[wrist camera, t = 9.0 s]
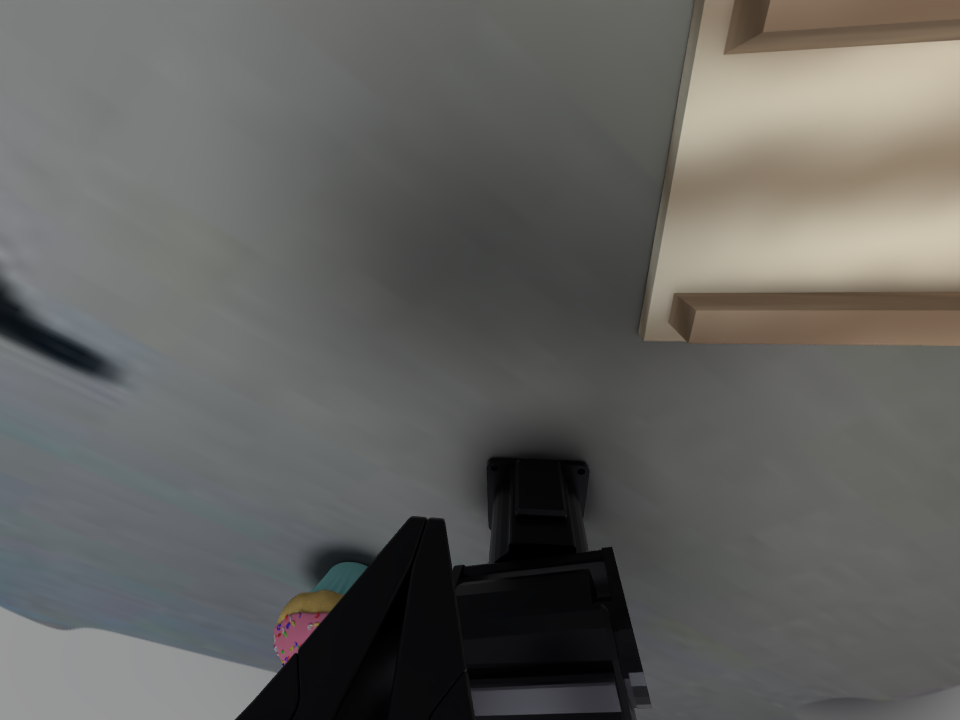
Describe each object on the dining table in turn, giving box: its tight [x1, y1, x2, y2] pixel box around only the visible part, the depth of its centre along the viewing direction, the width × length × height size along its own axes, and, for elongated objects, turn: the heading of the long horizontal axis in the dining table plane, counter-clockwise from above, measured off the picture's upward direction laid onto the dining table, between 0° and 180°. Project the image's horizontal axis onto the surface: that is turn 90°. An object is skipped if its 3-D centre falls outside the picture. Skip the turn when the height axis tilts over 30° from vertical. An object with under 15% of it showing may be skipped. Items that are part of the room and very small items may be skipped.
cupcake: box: [273, 562, 368, 666], centre depth 27 cm, size 9×8×12 cm
